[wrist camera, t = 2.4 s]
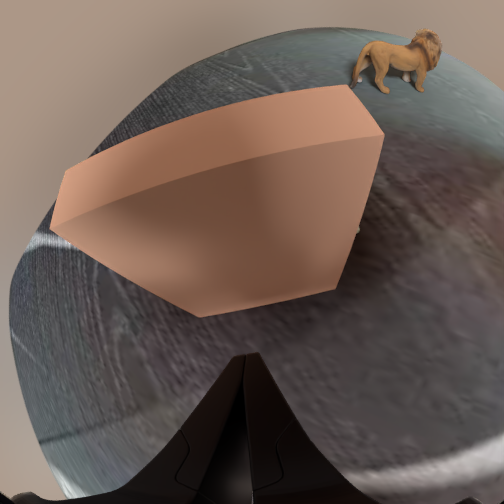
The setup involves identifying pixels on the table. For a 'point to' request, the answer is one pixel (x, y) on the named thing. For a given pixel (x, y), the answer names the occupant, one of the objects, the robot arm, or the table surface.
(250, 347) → the table surface
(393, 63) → the lion figurine
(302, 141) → the terracotta board
